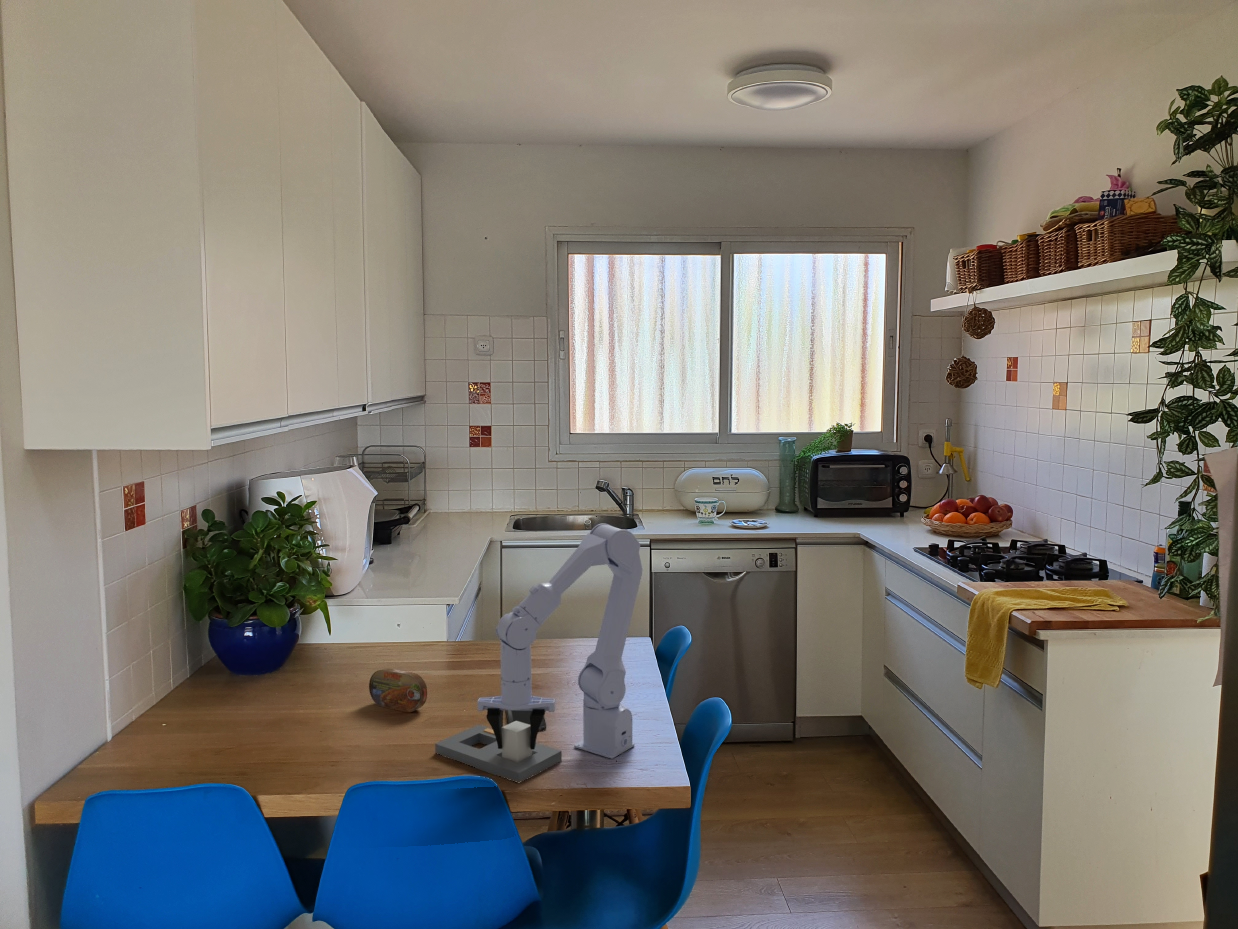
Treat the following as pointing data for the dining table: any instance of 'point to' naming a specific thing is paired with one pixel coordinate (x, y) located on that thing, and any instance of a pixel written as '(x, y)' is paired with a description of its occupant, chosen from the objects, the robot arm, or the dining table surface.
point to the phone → (523, 717)
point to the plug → (516, 741)
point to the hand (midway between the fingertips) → (517, 747)
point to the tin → (398, 690)
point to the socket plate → (495, 754)
